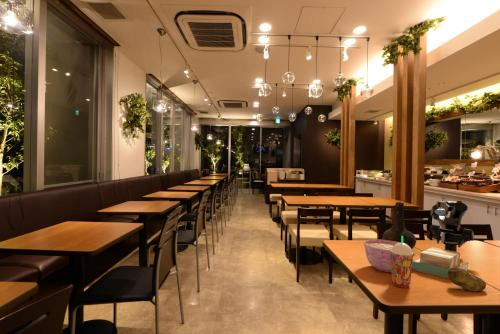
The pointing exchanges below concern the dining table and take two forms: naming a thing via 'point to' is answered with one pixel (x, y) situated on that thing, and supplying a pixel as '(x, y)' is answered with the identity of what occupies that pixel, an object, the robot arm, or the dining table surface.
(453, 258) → the metallic block
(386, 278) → the dining table surface
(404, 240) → the glass bottle
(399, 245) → the smoothie
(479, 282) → the potato
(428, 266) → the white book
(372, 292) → the dining table surface
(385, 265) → the bowl of food
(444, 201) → the robot arm
